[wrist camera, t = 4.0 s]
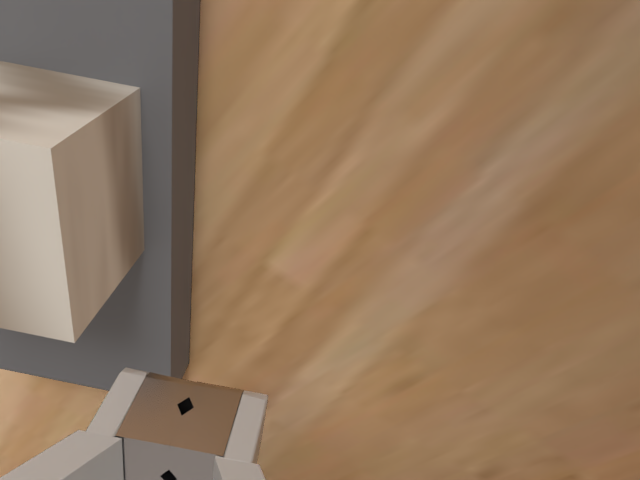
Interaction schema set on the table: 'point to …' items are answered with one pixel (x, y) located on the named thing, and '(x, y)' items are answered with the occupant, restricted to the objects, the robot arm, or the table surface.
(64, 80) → the cream block
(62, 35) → the trap board
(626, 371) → the table surface
